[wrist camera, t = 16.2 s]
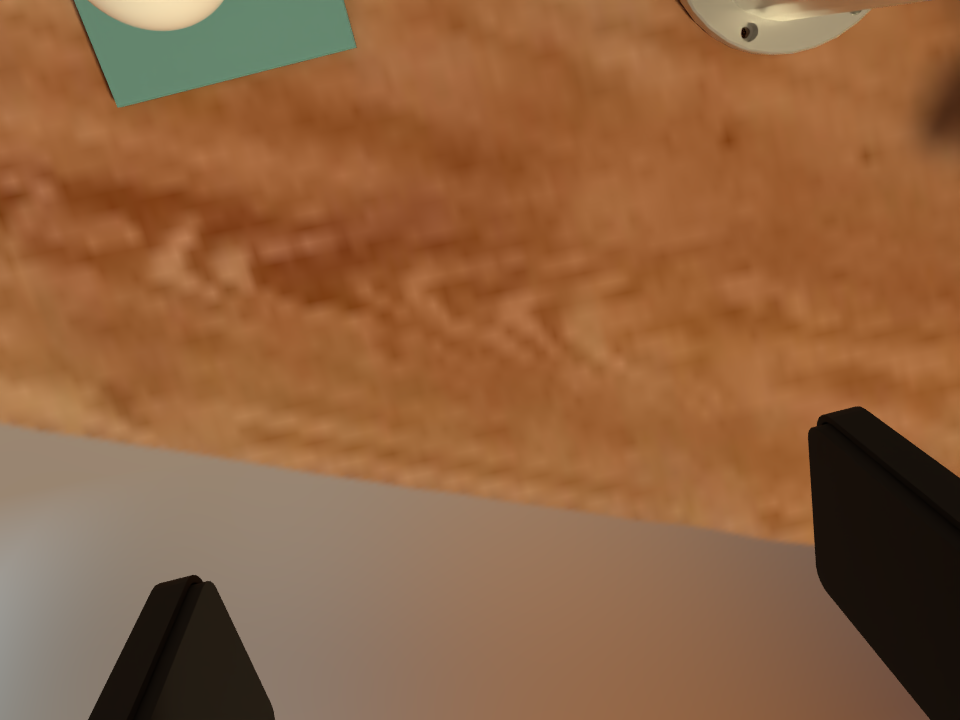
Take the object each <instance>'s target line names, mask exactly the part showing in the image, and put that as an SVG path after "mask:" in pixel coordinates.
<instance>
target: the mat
mask: <svg viewBox="0 0 960 720" xmlns="http://www.w3.org/2000/svg"><path fill="white" fill-rule="evenodd" d="M74 1H75V4H76V6H77V9H78V11H79V14H80V16H81V19H82V21H83V24H84V26H85V28H86V31H87V33H88V36H89V38H90V41H91V43H92V46H93V48H94V51H95V53H96V55H97V58H98V60H99V63H100V65H101V68H102V70H103V73H104V75H105V78H106V80H107V82H108V85H109V87H110V90H111V92H112V95H113V97H114V100H115V102H116V105H117V107H124V106H128V105H132V104H136V103H140V102H144V101H148V100H152V99H156V98H160V97H164V96H168V95H172V94H175V93H179V92H183V91H187V90H191V89H195V88H199V87H203V86H207V85H211V84H215V83H219V82H223V81H227V80H231V79H235V78H239V77H243V76H247V75H250V74H254V73H258V72H262V71H266V70H270V69H274V68H278V67H282V66H286V65H290V64H294V63H298V62H302V61H306V60H310V59H314V58H318V57H322V56H325V55H329V54H333V53H337V52H341V51H345V50H349V49H353V48H357V47H356V43H355V40H354V36H353V32H352V29H351V25H350V21H349V18H348V14H347V11H346V7H345V3H344V0H224V1H223V3H222V4H221V5H220V6H219V7H218V9H217V10H216V11H215V12H213V13H212V14H211V15H210V16H209V17H207V18H206V19H204V20H203V21H201V22H199V23H197V24H195V25H193V26H190V27H187V28H184V29H180V30H174V31H150V30H144V29H140V28H136V27H132V26H129V25H127V24H124V23H122V22H120V21H117V20H115V19H114V18H112V17H110V16H108V15H107V14H105V13H103V12H102V11H100V10H99V9H98V8H96V7H95V6H94V5H93V4H91V3H90V2H89V1H88V0H74Z"/></svg>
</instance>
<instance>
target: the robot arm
mask: <svg viewBox="0 0 960 720" xmlns="http://www.w3.org/2000/svg"><path fill="white" fill-rule="evenodd" d="M923 1H930V0H680V2H681V3H682V5H683V6H684V8H685V9H686V10H687V12H688V13H689V15H690V16H691V17H692V19H693V20H694V21H695V22H696V23H697V24H698V25H699V26H700V27H701V28H702V29H703V30H705V31H706V32H707V33H708V34H709V35H710V36H711V37H713V38H715V39H716V40H718V41H720V42H722V43H723V44H725V45H727V46H729V47H731V48H734V49H737V50H741V51H744V52H748V53H751V54H765V55H779V54H792V53H796V52H800V51H804V50H808V49H812V48H815V47H818V46H820V45H822V44H824V43H826V42H828V41H830V40H832V39H835V38H837V37H838V36H840V35H841V34H842V33H844V32H845V31H847V30H848V29H850V28H851V27H852V26H854V25H855V24H857V23H858V22H859V21H860V20H861V19H862V18H863V17H864V16H865V15H866V14H867V13H868V12H869V11H870V10H871V9H873V8H881V7H888V6H895V5H902V4H909V3H916V2H923ZM742 28H744V29H745V30H746V35H745V37H744V38H742V36H741V30H742ZM808 443H809V459H810V476H811V492H812V508H813V524H814V540H815V556H816V568H817V573H818V576H819V578H820V581H821V583H822V585H823V587H824V589H825V590H826V592H827V593H828V594H829V595H830V597H831V598H832V599H833V600H834V601H835V602H836V604H837V605H838V606H839V608H840V609H841V610H842V611H843V613H844V614H845V615H846V616H847V618H848V619H849V620H850V621H851V622H852V624H853V625H854V626H855V627H856V629H857V630H858V631H859V632H860V634H861V635H862V636H863V637H864V638H865V639H866V641H867V642H868V643H869V645H870V646H871V647H872V648H873V649H874V650H875V652H876V653H877V655H878V656H879V657H880V658H881V659H882V661H883V662H884V663H885V664H886V666H887V667H888V668H889V669H890V670H891V672H892V673H893V674H894V675H895V676H896V678H897V679H898V680H899V682H900V683H901V684H902V685H903V686H904V688H905V689H906V690H907V692H908V693H909V694H910V695H911V696H912V698H913V699H914V700H915V701H916V703H917V704H918V705H919V706H920V708H921V709H922V710H923V711H924V712H925V714H926V715H927V716H928V717H929V719H930V720H960V478H959V477H958V476H956V475H955V474H953V473H952V472H951V471H949V470H948V469H947V468H945V467H944V466H942V465H941V464H940V463H938V462H937V461H936V460H934V459H933V458H932V457H930V456H929V455H927V454H926V453H925V452H923V451H922V450H921V449H919V448H918V447H916V446H915V445H914V444H912V443H911V442H910V441H908V440H907V439H906V438H904V437H903V436H901V435H900V434H899V433H897V432H896V431H895V430H893V429H892V428H890V427H889V426H888V425H886V424H885V423H884V422H882V421H881V420H880V419H878V418H877V417H875V416H874V415H873V414H871V413H870V412H869V411H867V410H866V409H864V408H862V407H852V408H848V409H844V410H840V411H836V412H832V413H829V414H825V415H821V416H820V417H819V419H818V422H817V426H816V427H812V428H811V429H810V430H809V433H808ZM88 720H275V717H274V711H273V708H272V705H271V703H270V700H269V698H268V696H267V694H266V692H265V690H264V688H263V686H262V684H261V681H260V679H259V677H258V675H257V673H256V671H255V669H254V667H253V665H252V662H251V660H250V658H249V656H248V654H247V652H246V650H245V648H244V646H243V643H242V641H241V639H240V637H239V635H238V633H237V631H236V629H235V627H234V624H233V622H232V620H231V618H230V616H229V614H228V612H227V610H226V608H225V605H224V603H223V601H222V599H221V597H220V595H219V593H218V591H217V589H216V587H215V585H214V584H213V583H212V582H210V581H206V582H203V581H202V580H201V579H200V578H199V577H198V576H196V575H191V576H187V577H183V578H179V579H176V580H171V581H167V582H163V583H159V584H158V585H156V586H155V587H154V588H153V590H152V591H151V593H150V595H149V597H148V599H147V601H146V604H145V605H144V607H143V609H142V611H141V613H140V616H139V618H138V620H137V622H136V624H135V626H134V628H133V630H132V632H131V634H130V636H129V638H128V640H127V642H126V644H125V646H124V648H123V650H122V652H121V654H120V656H119V658H118V660H117V662H116V664H115V666H114V668H113V670H112V672H111V674H110V676H109V678H108V680H107V683H106V684H105V686H104V689H103V691H102V693H101V695H100V697H99V699H98V701H97V703H96V705H95V707H94V709H93V711H92V713H91V715H90V717H89V719H88Z"/></svg>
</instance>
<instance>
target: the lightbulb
mask: <svg viewBox="0 0 960 720" xmlns="http://www.w3.org/2000/svg"><path fill="white" fill-rule="evenodd" d="M88 1H89V2H90V3H91V4H93V5H94V6H95V7H96V8H98V9H99V10H100V11H102V12H103V13H105V14H107V15H108V16H110V17H112V18H114V19H115V20H117V21H120V22H122V23H124V24H127V25H129V26H132V27H136V28H140V29H144V30H150V31H174V30H180V29H184V28H187V27H190V26H193V25H195V24H197V23H199V22H201V21H203V20H204V19H206V18H207V17H209V16H210V15H211V14H212V13H213V12H215V11H216V10H217V9H218V7H219V6H220V5H221V4H222V3H223V1H224V0H88Z"/></svg>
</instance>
